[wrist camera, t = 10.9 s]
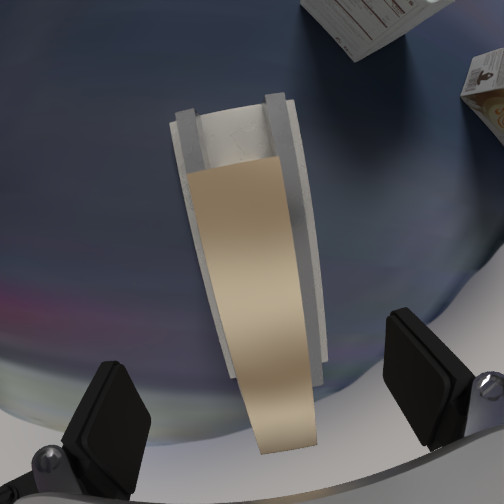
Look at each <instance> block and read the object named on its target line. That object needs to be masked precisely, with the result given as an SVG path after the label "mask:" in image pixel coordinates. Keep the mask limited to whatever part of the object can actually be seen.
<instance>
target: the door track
mask: <svg viewBox="0 0 504 504" xmlns="http://www.w3.org/2000/svg"><path fill="white" fill-rule="evenodd" d="M175 116H176V121H175V122H171V123H169V124H170V129H171V135H172V140H173V146H174V151H175V156H176V161H177V166H178V171H179V176H180V181H181V186H182V190H183V195H184V200H185V204H186V209H187V213H188V218H189V222H190V227H191V231H192V235H193V240H194V244H195V248H196V252H197V257H198V261H199V265H200V269H201V273H202V277H203V281H204V285H205V289H206V292H207V296H208V300H209V304H210V308H211V311H212V315H213V319H214V323H215V326H216V330H217V333H218V337H219V341H220V344H221V348H222V351H223V355H224V358H225V361H226V365H227V368H228V372H229V375H230V378H236V379H237V375H236V372H235V368H234V365H233V361H232V358H231V354H230V351H229V347H228V343H227V340H226V336H225V332H224V329H223V325H222V321H221V318H220V314H219V310H218V306H217V302H216V298H215V295H214V291H213V287H212V283H211V279H210V275H209V271H208V267H207V262H206V258H205V254H204V250H203V246H202V242H201V237H200V233H199V229H198V224H197V220H196V215H195V211H194V206H193V202H192V197H191V193H190V188H189V183H188V179H187V174H189V173H193V172H198V171H202V170H207V169H211V168H216V167H221V166H226V165H231V164H236V163H241V162H247V161H252V160H258V159H263V158H269V157H275V156H279V159H280V164H281V170H282V175H283V181H284V187H285V192H286V198H287V204H288V210H289V216H290V223H291V229H292V235H293V242H294V248H295V255H296V262H297V269H298V276H299V283H300V290H301V297H302V305H303V312H304V320H305V328H306V336H307V345H308V353H309V362H310V372H311V381H312V387H315V386H320V385H323V371H322V362H326V361H328V352H327V338H326V325H325V313H324V302H323V291H322V281H321V272H320V263H319V254H318V246H317V238H316V230H315V223H314V215H313V208H312V201H311V194H310V188H309V181H308V175H307V169H306V163H305V157H304V151H303V146H302V140H301V134H300V129H299V124H298V118H297V113H296V108H295V103H294V100H286V99H285V95H284V92H283V93H275V94H268V95H265V96H264V99H263V102H262V104H258V105H252V106H246V107H240V108H234V109H229V110H224V111H219V112H214V113H209V114H205V115H200V114H199V113H198V112H197V111H196V110H195V109H194V108H193V109H189V110H185V111H181V112H177V113H175ZM237 382H238V379H237ZM238 386H239V389H240V385H239V382H238ZM240 392H241V389H240ZM241 396H242V399H243V395H242V392H241Z"/></svg>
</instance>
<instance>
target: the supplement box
mask: <svg viewBox="0 0 504 504" xmlns="http://www.w3.org/2000/svg"><path fill="white" fill-rule="evenodd" d="M454 1H455V0H301V1H300V4H301V5H302V6H303V7H304V8H305V9H306V10H307V11H308V12H309V13H310V14H311V15H312V16H313V17H314V18H315V19H316V21H317V22H318V23H319V24H320V25H321V26H322V27H323V28H324V29H325V30H326V31H327V32H328V33H329V34H330V35H331V36H332V38H333V39H334V40H335V41H336V42H337V43H338V44H339V45H340V47H341V48H342V49H343V50H344V51H345V52H346V53H347V55H348V56H349V57H350V58H351V59H352V60H353V61H354V62H358V61H359V60H361V59H363V58H365V57H366V56H368V55H370V54H372V53H373V52H375V51H377V50H379V49H380V48H382V47H384V46H386V45H387V44H389V43H391V42H392V41H394V40H396V39H397V38H399V37H401V36H402V35H404V34H406V33H407V32H408V31H410V30H411V29H413V28H414V27H415V26H417V25H418V24H420V23H421V22H423V21H424V20H426V19H427V18H429V17H430V16H432V15H433V14H435V13H436V12H438V11H439V10H441V9H443V8H444V7H446V6H447V5H449V4H451V3H452V2H454Z"/></svg>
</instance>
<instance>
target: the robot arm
mask: <svg viewBox="0 0 504 504" xmlns="http://www.w3.org/2000/svg"><path fill="white" fill-rule="evenodd" d="M383 379H384V382H385V384H386V385H387V387H388V389H389V390H390V392H391V394H392V395H393V397H394V399H395V400H396V402H397V404H398V405H399V407H400V408H401V410H402V412H403V414H404V415H405V417H406V419H407V421H408V422H409V424H410V426H411V427H412V429H413V431H414V433H415V434H416V436H417V437H418V439H419V441H420V443H421V444H422V445H423V446H426V445H427V447H428V448H429V450H430V452H431V453H428V454H426V455H424V456H422V457H419V458H417V459H414V460H412V461H409V462H407V463H404V464H401V465H399V466H396V467H393V468H391V469H388V470H385V471H382V472H379V473H376V474H373V475H371V476H367V477H364V478H361V479H358V480H354V481H351V482H347V483H344V484H340V485H336V486H332V487H328V488H324V489H320V490H315V491H311V492H306V493H301V494H296V495H290V496H284V497H277V498H271V499H263V500H255V501H246V502H233V503H218V504H504V375H503V374H501V373H499V372H494V371H493V372H485V373H481V374H480V375H479V376H477V377H475V376H474V375H473V373H472V372H471V371H470V370H469V369H468V368H467V367H466V366H465V365H464V364H463V363H462V362H461V361H460V360H459V358H458V357H457V356H456V355H455V354H454V353H453V352H452V351H451V350H450V349H449V348H448V347H447V346H446V345H445V344H444V343H443V342H442V341H441V340H440V339H439V338H438V337H437V336H436V335H435V334H434V333H433V332H432V331H431V330H430V329H429V328H428V327H427V326H426V325H425V324H424V323H423V322H422V321H421V320H420V319H419V318H418V317H417V316H416V315H415V314H414V313H413V312H412V311H410V310H409V309H408V308H407V307H404V308H401V309H398V310H394V311H392V312H391V313H390V316H388V317H387V319H386V336H385V353H384V366H383ZM150 426H151V417H150V414H149V412H148V410H147V409H146V407H145V405H144V403H143V401H142V399H141V398H140V396H139V394H138V392H137V390H136V388H135V386H134V384H133V382H132V380H131V378H130V376H129V374H128V372H127V370H126V368H125V366H124V365H122V364H120V363H119V362H118V361H105V362H102V363H101V365H100V367H99V368H98V370H97V372H96V374H95V376H94V377H93V379H92V381H91V383H90V385H89V387H88V388H87V390H86V392H85V394H84V396H83V398H82V400H81V402H80V404H79V405H78V407H77V409H76V411H75V413H74V415H73V417H72V419H71V421H70V423H69V425H68V427H67V429H66V431H65V433H64V435H63V437H62V439H61V442H62V443H63V446H62V448H61V447H59V446H57V445H48V446H44V447H43V448H41V449H39V450H38V451H37V452H36V453H35V455H34V457H33V459H32V471H30V472H28V473H26V474H24V475H22V476H20V477H18V478H16V479H14V480H12V481H10V482H8V483H6V484H4V485H2V486H1V487H0V504H164V503H147V502H135V501H129V500H130V495H131V494H133V493H134V492H135V488H136V484H137V479H138V475H139V470H140V466H141V462H142V458H143V454H144V450H145V445H146V441H147V437H148V433H149V429H150ZM440 447H442V448H440ZM438 448H439V449H438ZM436 449H437V450H436ZM434 450H435V451H434ZM432 451H433V452H432ZM117 499H118V500H117Z"/></svg>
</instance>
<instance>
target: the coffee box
mask: <svg viewBox="0 0 504 504" xmlns="http://www.w3.org/2000/svg"><path fill="white" fill-rule="evenodd" d="M460 97H461V99H462V100H463V101H464V102H465V103H466V104H467V105H468V106H469V107H470V108H471V109H472V110H473V111H474V112H475V113H476V115H477V116H478V117H479V118H480V119H481V120H482V121H483V122H484V123H485V124H486V126H487V127H488V128H489V129H490V130H491V131H492V132H493V134H494V135H495V136H496V137H497V138H498V140H499V141H500V142H501V143H502V145H503V146H504V48H501V49H497V50H494V51H491V52H488V53H485V54H482V55H479V56H476V57H473V59H472V62H471V65H470V68H469V72H468V75H467V78H466V81H465V84H464V87H463V90H462V92H461V95H460Z"/></svg>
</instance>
